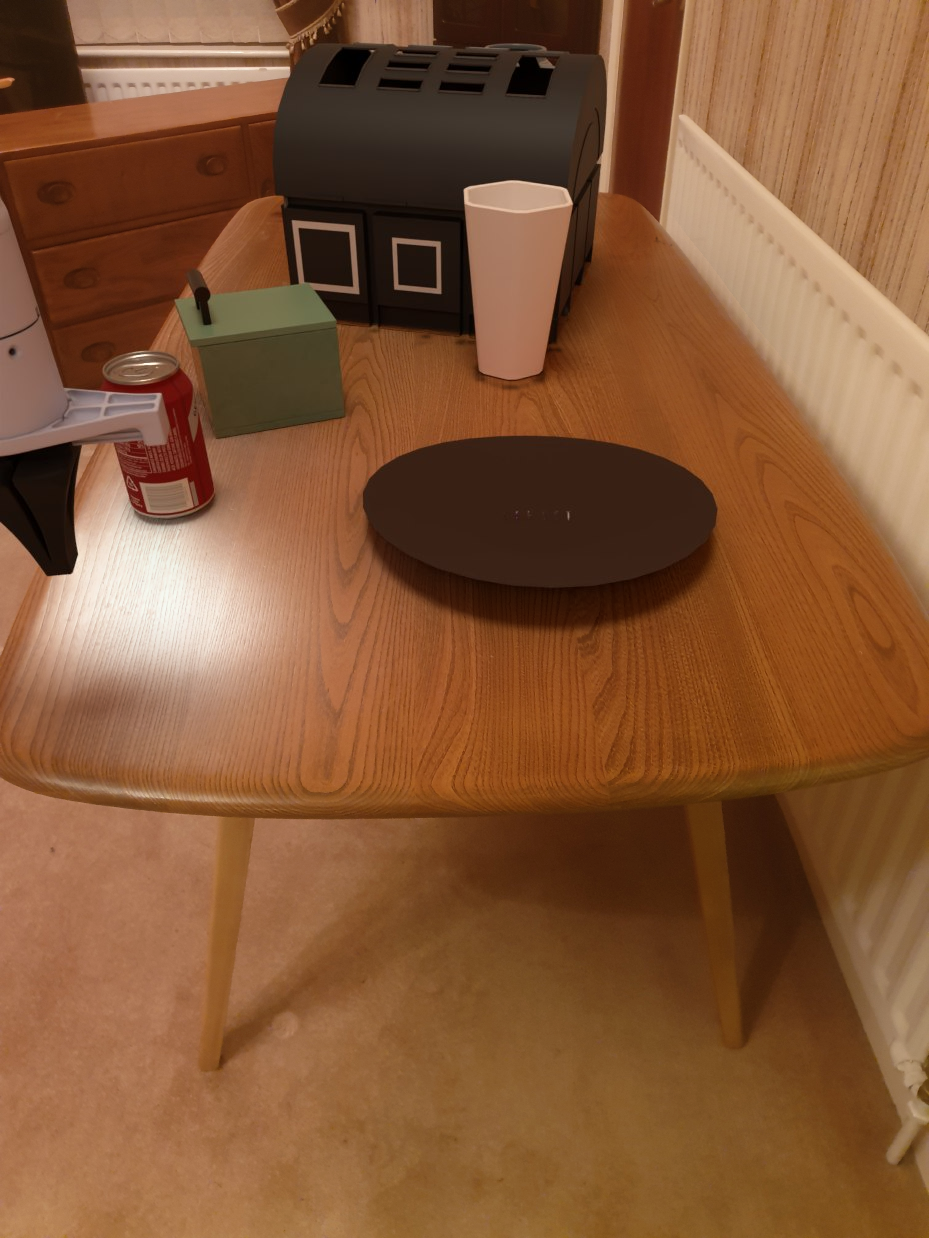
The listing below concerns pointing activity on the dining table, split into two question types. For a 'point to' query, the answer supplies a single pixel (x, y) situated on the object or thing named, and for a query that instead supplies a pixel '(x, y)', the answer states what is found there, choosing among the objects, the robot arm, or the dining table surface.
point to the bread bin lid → (249, 312)
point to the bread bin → (270, 381)
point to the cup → (515, 271)
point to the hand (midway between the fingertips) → (62, 564)
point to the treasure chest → (427, 171)
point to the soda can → (180, 467)
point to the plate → (540, 510)
